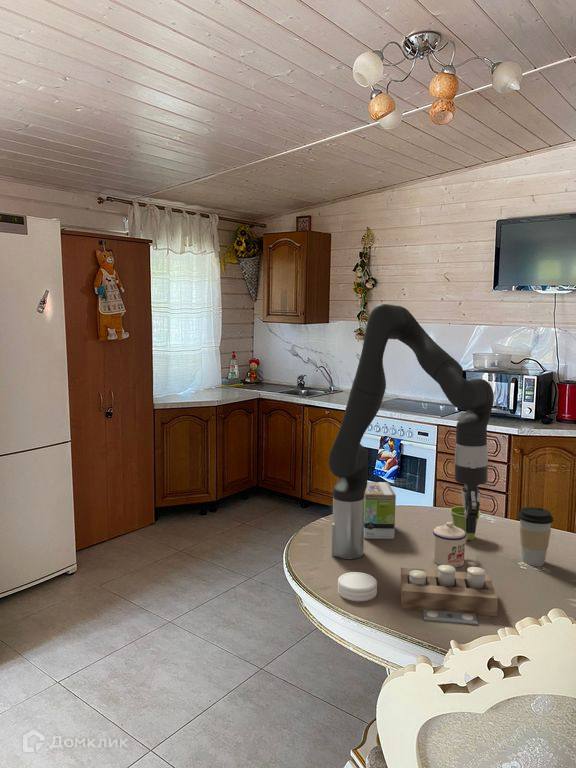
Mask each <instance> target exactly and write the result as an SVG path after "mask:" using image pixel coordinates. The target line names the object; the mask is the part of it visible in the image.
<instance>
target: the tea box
mask: <svg viewBox="0 0 576 768" xmlns="http://www.w3.org/2000/svg"><path fill="white" fill-rule="evenodd" d="M396 496H397V495H396V493H395V491H394V490H393V488H392V487H391V484H390V483H389V482H388V481H387V482H385V481H384V482H383V481H378V482H377V481H367V487H366V490H365V493H364V539H374V540H375V539H376V540H379V539H380V540H384V539H385V540H386V539H387V540H392V539H395V527H396V525H395V524H396V502H397V500H396V499H397V497H396Z"/></svg>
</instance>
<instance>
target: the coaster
mask: <svg viewBox="0 0 576 768" xmlns="http://www.w3.org/2000/svg"><path fill="white" fill-rule="evenodd" d="M377 589H378V581H377V579H376V578H375V577H374V576H372V575H371V574H368V573H366V572H361V571H360V572H358V571H349V572H346V573H343V574H342V575H340V576H339V577H338V579H337V592H338V595H339V596H340V597H341V598H344V599H345V600H349V601H352V602H367V601H370V600H373V599H374V598H376V596H377V594H378V591H377Z"/></svg>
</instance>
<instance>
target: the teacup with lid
mask: <svg viewBox="0 0 576 768" xmlns="http://www.w3.org/2000/svg"><path fill="white" fill-rule="evenodd" d="M432 534H433V546H432V547H433V550H432V551H433V552H432V553H433V554H432V556H433V557H432V560H433V563H435V564H437V565H438V566H440V565H450V566H453V567H454V568H455V569H456V568H458V567H459V568H460V567H462V566H463V565H464V564H465V551H466V550H465V549H466V548H465V547H466V544H467V541H468V540H467V537H466V534H465V531H464V530H462V529H460V528H458V527H456V526H454V525H453V521H447V522H445V524H442V525H438V526H436V527H434V529H433V531H432Z"/></svg>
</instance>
